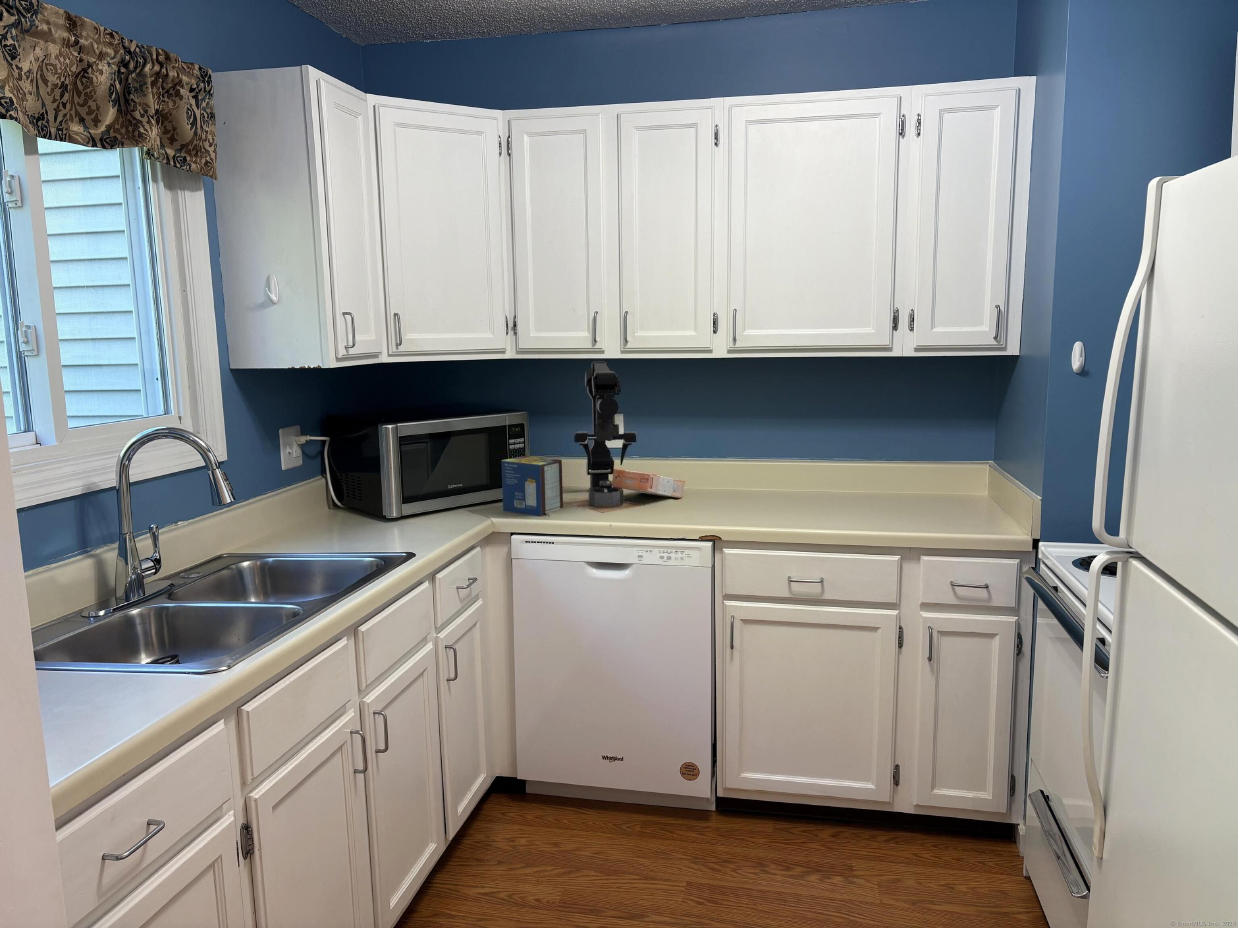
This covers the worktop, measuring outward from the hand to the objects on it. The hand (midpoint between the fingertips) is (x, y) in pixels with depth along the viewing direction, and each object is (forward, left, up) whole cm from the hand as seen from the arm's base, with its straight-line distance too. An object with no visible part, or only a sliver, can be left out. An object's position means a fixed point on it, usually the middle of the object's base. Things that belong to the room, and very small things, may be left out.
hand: (606, 465), depth 261 cm
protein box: (-10, -20, -13) cm, 26 cm away
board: (-2, 0, -13) cm, 13 cm away
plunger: (0, 0, -12) cm, 12 cm away
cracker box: (-2, +26, -10) cm, 28 cm away
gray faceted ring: (-1, 0, -12) cm, 12 cm away
